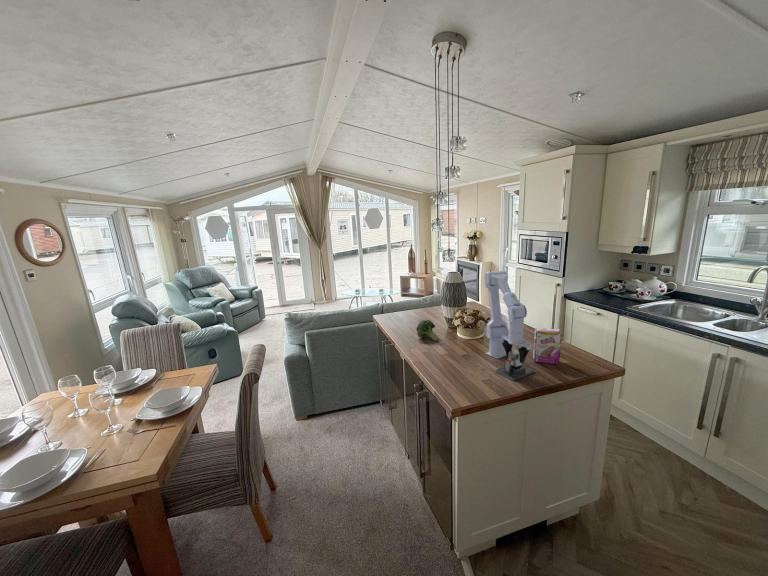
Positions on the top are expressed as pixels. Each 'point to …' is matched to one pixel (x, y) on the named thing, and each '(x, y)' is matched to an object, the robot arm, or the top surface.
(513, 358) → the layered white box
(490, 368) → the top surface
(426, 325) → the vegetable
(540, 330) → the candy bar box
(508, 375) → the stand base
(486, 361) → the top surface
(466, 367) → the top surface
